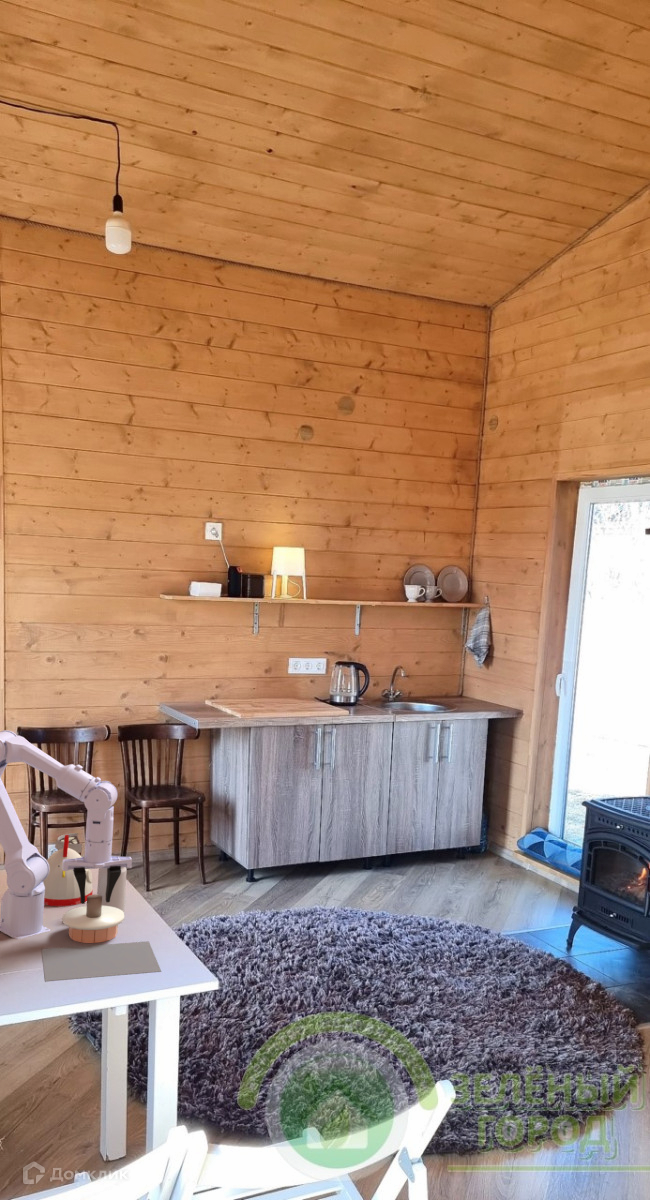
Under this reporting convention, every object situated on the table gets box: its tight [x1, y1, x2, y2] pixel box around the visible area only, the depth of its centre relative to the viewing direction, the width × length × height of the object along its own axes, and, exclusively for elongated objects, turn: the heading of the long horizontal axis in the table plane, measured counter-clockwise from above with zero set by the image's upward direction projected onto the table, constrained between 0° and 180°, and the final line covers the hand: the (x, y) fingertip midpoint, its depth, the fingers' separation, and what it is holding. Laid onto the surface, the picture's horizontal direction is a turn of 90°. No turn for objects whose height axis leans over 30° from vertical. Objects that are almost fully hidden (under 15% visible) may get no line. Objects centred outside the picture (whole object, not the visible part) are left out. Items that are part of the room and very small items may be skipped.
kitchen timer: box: [43, 834, 93, 907], centre depth 218 cm, size 14×14×15 cm
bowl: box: [68, 924, 119, 944], centre depth 193 cm, size 10×10×4 cm
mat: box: [41, 941, 162, 982], centre depth 180 cm, size 16×22×1 cm
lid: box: [62, 894, 125, 930], centre depth 193 cm, size 13×13×5 cm
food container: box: [54, 832, 83, 857], centre depth 233 cm, size 12×6×10 cm, turn 21°
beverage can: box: [96, 867, 128, 913], centre depth 207 cm, size 6×6×12 cm
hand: (95, 901), depth 193 cm, fingers open, 5 cm apart
